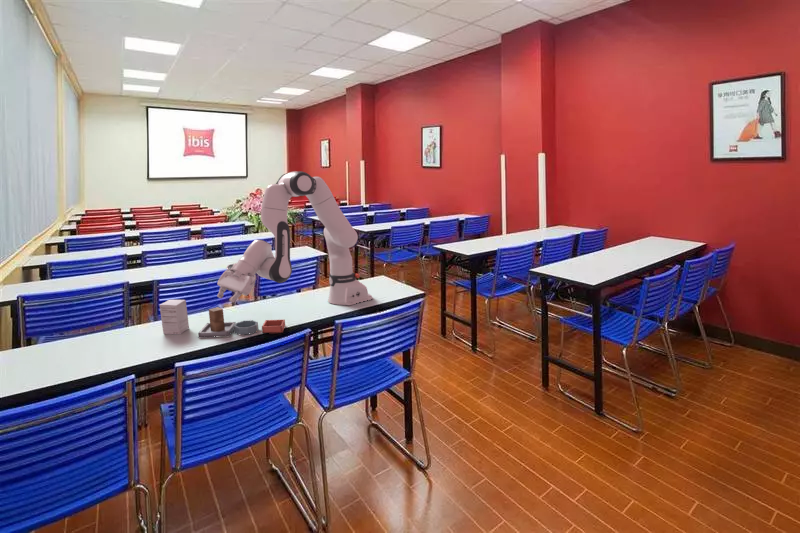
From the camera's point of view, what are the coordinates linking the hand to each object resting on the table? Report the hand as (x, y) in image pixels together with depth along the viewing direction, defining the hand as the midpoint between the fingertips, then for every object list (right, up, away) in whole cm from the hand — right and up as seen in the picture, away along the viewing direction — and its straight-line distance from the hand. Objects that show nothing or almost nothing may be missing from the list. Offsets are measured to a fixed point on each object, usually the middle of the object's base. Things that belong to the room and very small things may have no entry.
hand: (224, 299), depth 188 cm
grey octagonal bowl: (+9, -13, +1) cm, 16 cm away
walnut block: (-3, -13, 0) cm, 13 cm away
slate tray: (-3, -13, 0) cm, 14 cm away
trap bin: (+20, -13, +2) cm, 24 cm away
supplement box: (-21, -13, +1) cm, 25 cm away
